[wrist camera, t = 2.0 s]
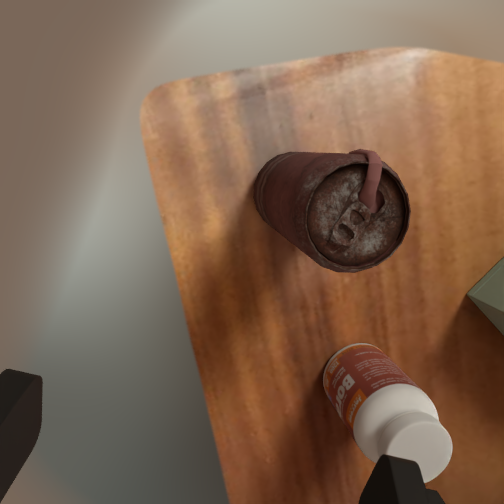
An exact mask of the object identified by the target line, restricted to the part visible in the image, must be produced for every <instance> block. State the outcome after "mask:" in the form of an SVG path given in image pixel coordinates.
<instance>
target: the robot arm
mask: <svg viewBox="0 0 504 504" xmlns="http://www.w3.org/2000/svg"><path fill="white" fill-rule="evenodd" d="M42 383H43V382H42V377H41V376H38V375H34V374H29V373H25V372H20V371H16V370H12V369H6V370H4V371H3V372H2V373H1V374H0V502H1V501H2V499H3V498H4V496H5V494H6V493H7V491H8V489H9V488H10V486H11V484H12V483H13V481H14V480H15V478H16V476H17V474H18V473H19V471H20V470H21V468H22V466H23V465H24V463H25V461H26V460H27V458H28V457H29V455H30V453H31V452H32V450H33V447H34V446H35V444H36V441H37V439H38V436H39V432H40V428H41V422H42ZM359 504H445V502H444V501H443V499H442V498H441V496H440V495H439V493H438V492H437V491H435V490H430V489H426V488H425V484H424V481H423V477H422V474H421V470H420V467H419V465H418V463H417V462H416V461H413V460H408V459H404V458H399V457H395V456H390V455H386V454H383V455H381V456H380V458H379V459H378V461H377V463H376V465H375V467H374V469H373V471H372V474H371V476H370V478H369V480H368V482H367V484H366V486H365V488H364V490H363V492H362V494H361V496H360V500H359Z"/></svg>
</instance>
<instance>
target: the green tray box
mask: <svg viewBox="0 0 504 504" xmlns="http://www.w3.org/2000/svg"><path fill="white" fill-rule="evenodd" d="M467 295H468V297H469V298H470V299H471V300H472V301H473V302H474V303H475V304H476V305H477V307H478V308H479V309H480V310H481V311H482V312H483V313H484V314H485V315H486V317H487V318H488V319H489V320H490V321H491V322H492V323H493V324H494V325H495V327H496V328H497V329H498V330H499V331H500V332H501V333H502V334H503V335H504V257H503V258H502V259H501V260H500V261H499V262H498V263H497V264H496V265H495V266H494V267H493V268H492V269H491V270H490V271H489V272H488V273H487V274H486V275H485V276H484V277H483V278H482V279H481V280H480V281H479V282H478V283H477V284H476V285H475V286H474V287H473V288H472V289H471V290H470V291H469V292H468V293H467Z"/></svg>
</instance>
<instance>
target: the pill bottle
mask: <svg viewBox="0 0 504 504" xmlns="http://www.w3.org/2000/svg"><path fill="white" fill-rule="evenodd" d="M323 385H324V389H325V392H326V394H327V396H328V398H329V400H330V401H331V403H332V404H333V406H334V408H335V409H336V411H337V413H338V414H339V416H340V417H341V419H342V421H343V422H344V424H345V425H346V427H347V429H348V430H349V432H350V434H351V435H352V437H353V439H354V440H355V442H356V443H357V445H358V447H359V448H360V449H361V451H362V452H363V453H364V454H365V456H367V457H368V458H369V459H370V460H371V461H373V462H375V463H377V461H378V459H379V458H380V456H381V455H383V454H386V455H390V456H395V457H399V458H404V459H408V460H413V461H416V462H417V463H418V465H419V467H420V470H421V474H422V477H423V481H424V483H426V482H429V481H431V480H432V479H434V478H436V477H437V476H438V475H439V474H440V473H441V472H442V471H443V470H444V469H445V468H446V466H447V465H448V463H449V461H450V458H451V455H452V440H451V437H450V435H449V433H448V432H447V430H446V429H445V428H444V427H443V426H442V425H441V424H440V422H439V418H438V414H437V410H436V408H435V406H434V404H433V403H432V401H431V400H430V398H429V397H428V396H427V395H426V394H425V393H424V392H423V391H422V390H421V388H419V387H418V386H417V385H416V384H415V383H414V382H413V381H412V380H411V379H410V378H409V377H408V376H407V375H406V374H405V373H404V372H403V371H402V370H401V369H400V368H399V367H398V366H397V365H396V364H395V363H394V362H393V361H392V360H391V359H390V358H389V357H388V356H387V355H386V354H385V353H384V352H383V351H381V350H380V349H379V348H377V347H375V346H373V345H370V344H366V343H357V344H352V345H349V346H346V347H344V348H342V349H341V350H339V351H338V352H337V353H336V354H334V355H333V356H332V358H331V359H330V360H329V362H328V364H327V365H326V368H325V370H324V375H323Z"/></svg>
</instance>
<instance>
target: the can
mask: <svg viewBox="0 0 504 504" xmlns="http://www.w3.org/2000/svg"><path fill="white" fill-rule="evenodd" d="M254 201H255V205H256V209H257V211H258V212H259V214H260V216H261V217H262V219H263V220H264V221H265V222H266V223H268V224H269V225H270V226H271V227H273V228H274V229H275V230H276V231H278V232H279V233H280V234H281V235H283V236H284V237H285V238H286V239H288V240H289V241H290V242H291V243H293V244H294V245H295V246H296V247H298V248H299V249H300V250H301V251H303V252H304V253H305V254H306V255H308V256H309V257H310V258H311V259H313V260H314V261H315V262H316V263H318V264H319V265H320V266H322V267H324V268H327V269H330V270H333V271H335V272H351V273H355V272H358V271H362V270H365V269H368V268H372V267H374V266H377V265H378V264H380V263H381V262H383V261H384V260H386V259H387V258H389V257H390V256H391V255H392V254H393V253H394V252H395V251H396V249H397V248H398V247H399V246H400V245H401V243H402V241H403V239H404V237H405V234H406V232H407V230H408V227H409V220H410V212H411V210H410V204H409V198H408V194H407V192H406V190H405V188H404V186H403V184H402V182H401V180H400V178H399V176H398V175H397V173H395V172H394V171H393V170H392V169H391V168H390V167H389V166H388V165H387V164H386V163H385V162H383V161H381V159H380V157H379V156H378V155H377V153H376V152H374V151H368V150H363V149H359V150H355V151H351V152H349V154H344V153H310V152H288V153H284V154H280V155H277V156H276V157H274V158H273V159H271V160H270V161H268V162H267V163H266V164H265V165H264V167H263V168H262V169H261V170H260V172H259V174H258V176H257V179H256V181H255V184H254Z"/></svg>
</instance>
